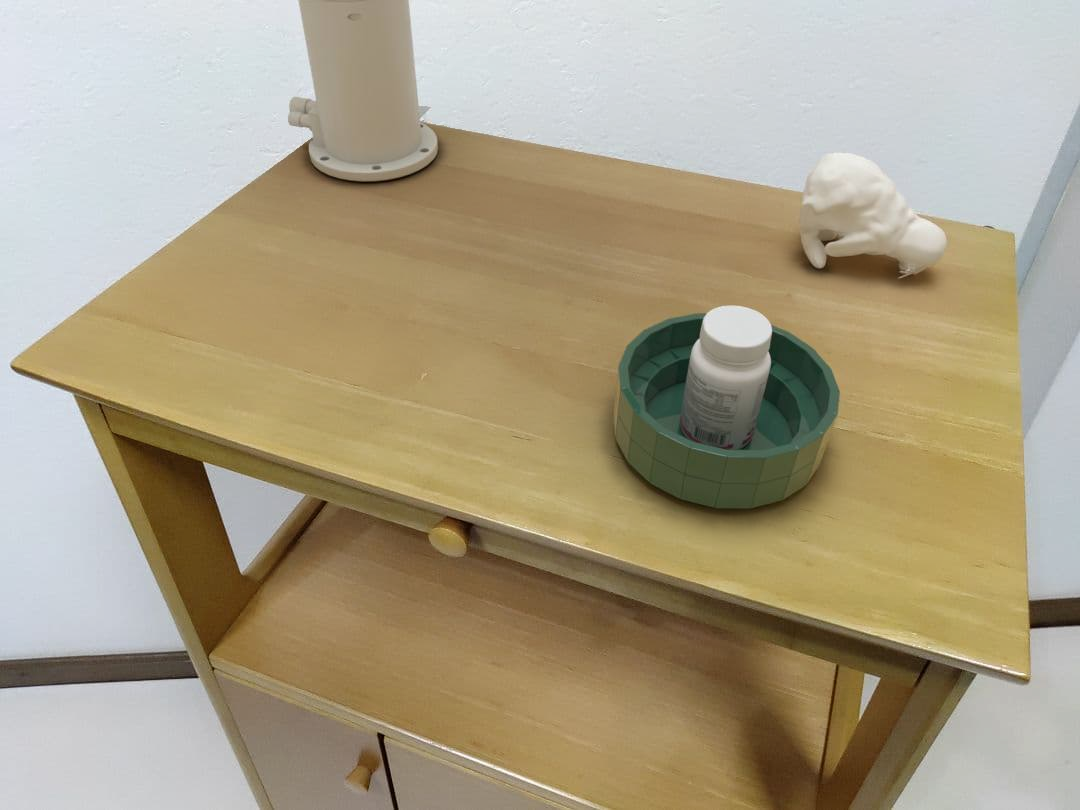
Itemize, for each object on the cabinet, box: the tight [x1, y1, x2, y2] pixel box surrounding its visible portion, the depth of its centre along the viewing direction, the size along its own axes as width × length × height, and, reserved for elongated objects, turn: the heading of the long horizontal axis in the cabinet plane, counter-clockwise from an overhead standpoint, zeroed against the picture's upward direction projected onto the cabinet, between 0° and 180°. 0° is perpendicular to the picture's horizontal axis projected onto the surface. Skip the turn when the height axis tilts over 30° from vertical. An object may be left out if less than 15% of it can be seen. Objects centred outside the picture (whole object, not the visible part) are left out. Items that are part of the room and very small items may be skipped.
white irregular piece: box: [797, 152, 947, 279], centre depth 66 cm, size 6×8×12 cm
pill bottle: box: [680, 304, 772, 450], centre depth 50 cm, size 5×5×8 cm
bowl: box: [612, 312, 841, 510], centre depth 52 cm, size 13×13×5 cm
